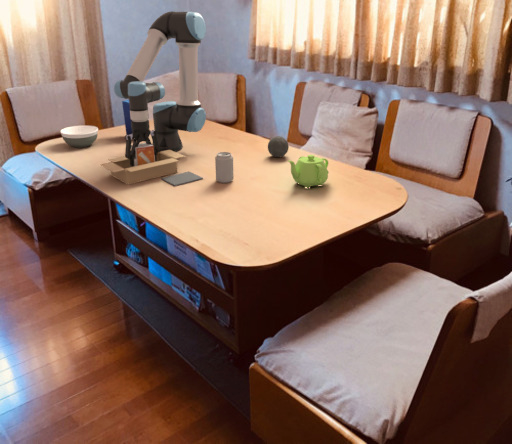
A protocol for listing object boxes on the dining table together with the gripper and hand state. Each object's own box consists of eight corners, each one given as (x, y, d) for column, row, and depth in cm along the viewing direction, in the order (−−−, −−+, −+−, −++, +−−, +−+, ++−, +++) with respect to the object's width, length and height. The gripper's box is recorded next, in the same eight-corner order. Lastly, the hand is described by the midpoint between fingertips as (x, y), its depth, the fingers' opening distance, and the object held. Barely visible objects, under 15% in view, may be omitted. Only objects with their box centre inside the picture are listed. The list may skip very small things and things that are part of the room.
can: (236, 178, 228) (235, 151, 223) (229, 184, 222) (229, 157, 217) (220, 177, 231) (219, 150, 226) (213, 182, 224) (212, 155, 219)
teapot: (319, 194, 212) (321, 164, 207) (286, 189, 217) (287, 159, 212) (331, 181, 226) (333, 152, 221) (299, 176, 231) (300, 148, 226)
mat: (189, 172, 236) (188, 171, 235) (203, 179, 228) (203, 177, 228) (161, 179, 228) (161, 178, 227) (174, 186, 220) (174, 185, 220)
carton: (166, 160, 252) (165, 147, 249) (190, 171, 237) (189, 158, 234) (97, 175, 232) (95, 162, 229) (119, 189, 217) (118, 174, 214)
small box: (138, 177, 230) (136, 148, 224) (133, 173, 235) (130, 144, 229) (156, 174, 234) (153, 145, 228) (150, 170, 239) (148, 141, 233)
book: (147, 139, 285) (143, 102, 276) (138, 141, 281) (134, 103, 273) (133, 134, 294) (129, 98, 286) (124, 136, 291) (120, 99, 283)
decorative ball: (277, 161, 251) (277, 140, 247) (263, 156, 258) (263, 136, 253) (292, 157, 257) (293, 136, 253) (278, 152, 264) (278, 132, 259)
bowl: (107, 143, 277) (106, 128, 274) (79, 152, 263) (77, 136, 260) (83, 138, 287) (81, 123, 283) (54, 147, 272) (52, 131, 269)
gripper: (157, 114, 233) (161, 164, 242) (112, 121, 221) (118, 173, 230) (166, 117, 228) (169, 168, 237) (120, 125, 216) (126, 178, 225)
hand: (144, 170), depth 234 cm, fingers closed on small box, 8 cm apart
